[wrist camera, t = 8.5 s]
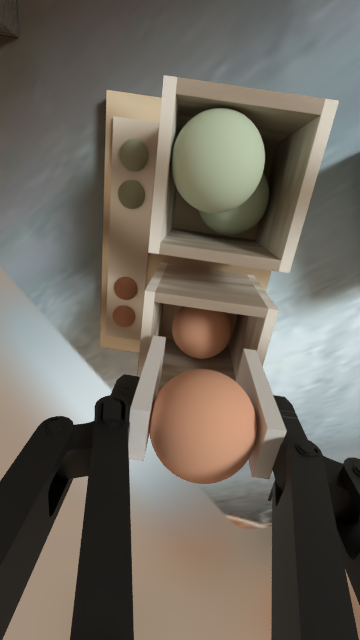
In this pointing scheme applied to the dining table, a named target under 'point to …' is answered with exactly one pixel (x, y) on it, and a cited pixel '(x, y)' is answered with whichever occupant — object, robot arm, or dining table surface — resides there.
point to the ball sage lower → (240, 213)
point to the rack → (199, 221)
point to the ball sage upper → (218, 160)
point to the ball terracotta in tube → (201, 331)
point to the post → (8, 18)
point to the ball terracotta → (203, 426)
